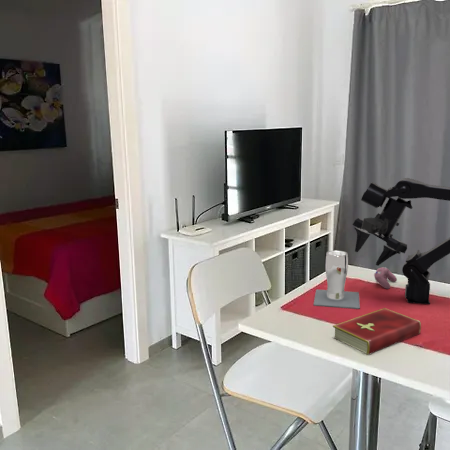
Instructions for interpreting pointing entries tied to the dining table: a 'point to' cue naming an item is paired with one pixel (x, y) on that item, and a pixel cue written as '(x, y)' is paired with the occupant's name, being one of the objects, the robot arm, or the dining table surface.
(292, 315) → the dining table surface
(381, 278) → the video game controller
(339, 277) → the beer glass
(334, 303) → the coaster
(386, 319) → the hardcover book
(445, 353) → the dining table surface
